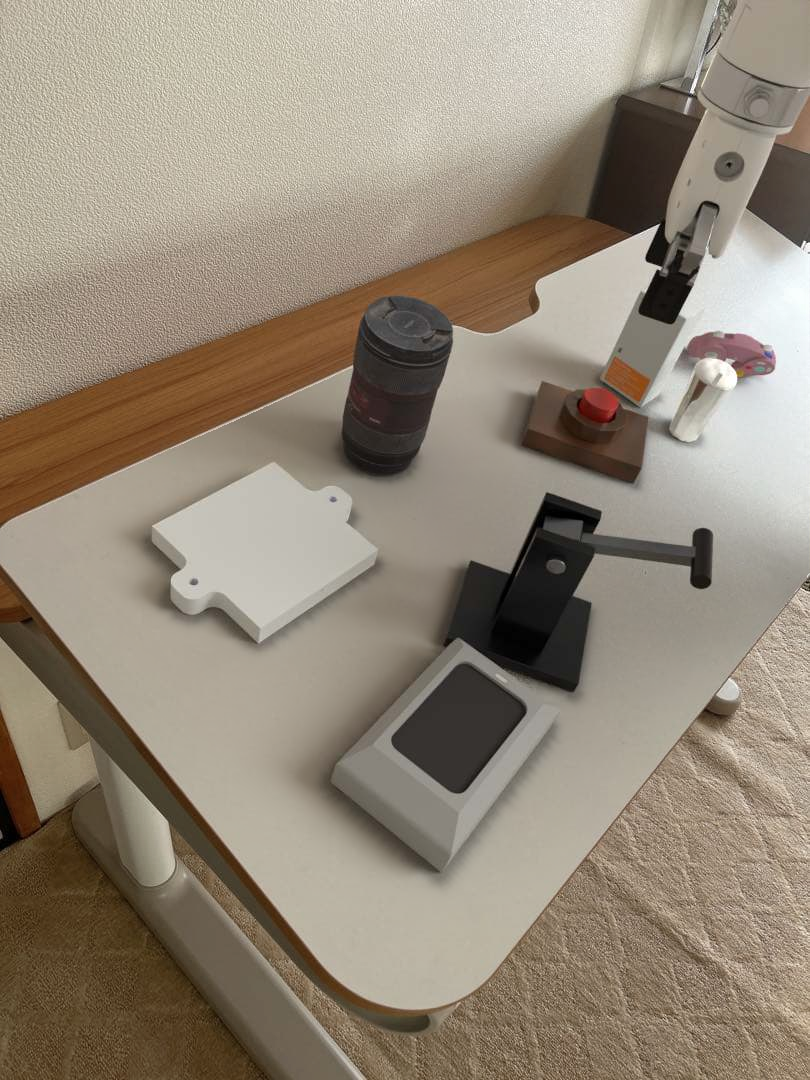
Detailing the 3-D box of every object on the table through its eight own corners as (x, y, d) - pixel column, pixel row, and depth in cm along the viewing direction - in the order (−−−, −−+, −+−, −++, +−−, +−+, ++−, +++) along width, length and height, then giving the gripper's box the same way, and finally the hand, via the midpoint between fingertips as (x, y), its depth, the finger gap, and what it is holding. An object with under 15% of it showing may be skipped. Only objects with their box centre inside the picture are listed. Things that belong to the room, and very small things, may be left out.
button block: (640, 432, 96) (655, 403, 93) (633, 483, 90) (649, 454, 87) (535, 396, 96) (547, 366, 94) (521, 445, 90) (533, 414, 87)
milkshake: (658, 439, 96) (699, 365, 88) (666, 413, 99) (706, 339, 92) (698, 456, 95) (742, 382, 88) (705, 429, 99) (748, 356, 92)
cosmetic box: (597, 380, 101) (638, 289, 92) (617, 368, 104) (659, 278, 95) (640, 409, 99) (687, 319, 90) (659, 396, 101) (706, 307, 93)
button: (613, 407, 92) (620, 394, 90) (610, 427, 89) (616, 414, 88) (580, 396, 92) (586, 382, 90) (576, 415, 89) (582, 402, 88)
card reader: (338, 755, 58) (461, 626, 68) (330, 781, 61) (450, 653, 70) (455, 849, 55) (566, 700, 65) (441, 872, 58) (550, 726, 68)
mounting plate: (232, 661, 66) (234, 646, 64) (125, 556, 70) (124, 539, 69) (394, 550, 77) (398, 536, 75) (292, 466, 81) (294, 450, 80)
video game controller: (679, 373, 108) (703, 345, 102) (684, 341, 110) (709, 312, 103) (755, 395, 109) (785, 368, 102) (760, 363, 110) (789, 334, 103)
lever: (710, 547, 66) (715, 523, 64) (708, 595, 62) (714, 571, 61) (547, 526, 69) (548, 503, 67) (536, 571, 65) (537, 547, 64)
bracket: (587, 610, 77) (646, 508, 67) (573, 692, 70) (636, 591, 61) (467, 568, 77) (509, 460, 68) (442, 646, 71) (485, 538, 62)
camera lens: (320, 457, 83) (344, 322, 72) (359, 414, 88) (388, 282, 77) (396, 495, 81) (433, 362, 71) (431, 448, 87) (471, 319, 76)
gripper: (809, 150, 60) (696, 355, 72) (794, 72, 72) (699, 259, 84) (704, 115, 60) (609, 326, 72) (706, 43, 72) (624, 234, 84)
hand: (657, 290), depth 78 cm, fingers open, 9 cm apart
